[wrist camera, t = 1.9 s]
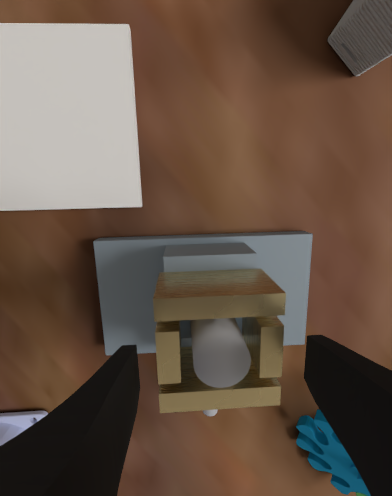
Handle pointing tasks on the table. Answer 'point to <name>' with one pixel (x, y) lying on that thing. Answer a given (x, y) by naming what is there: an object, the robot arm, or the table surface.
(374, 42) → the padlock
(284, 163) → the table surface
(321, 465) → the gear
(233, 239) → the vise
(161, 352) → the sleeve
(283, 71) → the table surface
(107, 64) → the mat
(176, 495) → the table surface
